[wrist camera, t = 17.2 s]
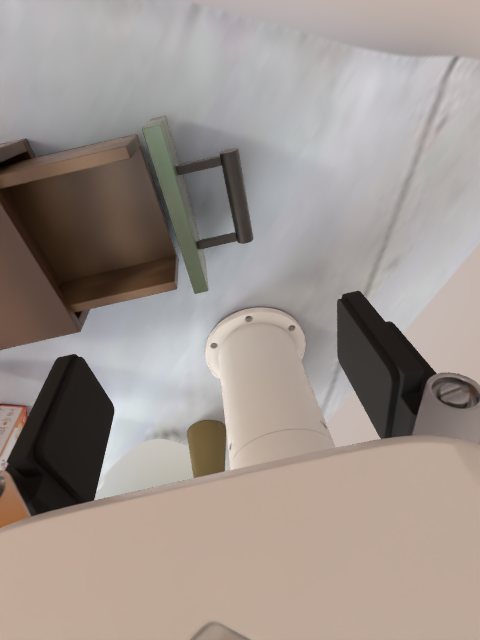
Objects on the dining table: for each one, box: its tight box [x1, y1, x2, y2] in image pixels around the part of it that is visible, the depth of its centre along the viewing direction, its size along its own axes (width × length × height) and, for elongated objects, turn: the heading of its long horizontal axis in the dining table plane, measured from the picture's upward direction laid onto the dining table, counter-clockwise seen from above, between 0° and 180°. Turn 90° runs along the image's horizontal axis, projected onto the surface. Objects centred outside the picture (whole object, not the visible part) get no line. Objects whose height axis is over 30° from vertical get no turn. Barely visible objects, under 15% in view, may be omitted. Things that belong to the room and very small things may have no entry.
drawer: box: [0, 116, 253, 313], centre depth 27 cm, size 19×12×6 cm, turn 101°
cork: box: [187, 420, 226, 478], centre depth 46 cm, size 6×6×11 cm
